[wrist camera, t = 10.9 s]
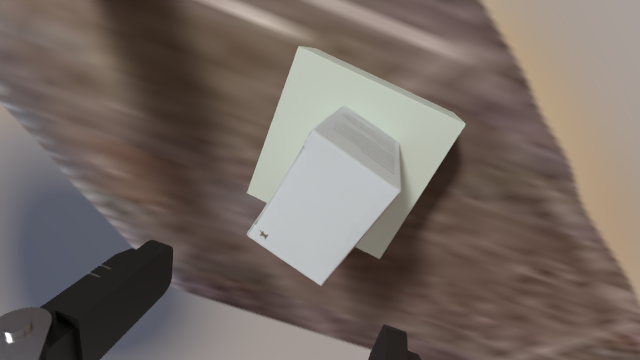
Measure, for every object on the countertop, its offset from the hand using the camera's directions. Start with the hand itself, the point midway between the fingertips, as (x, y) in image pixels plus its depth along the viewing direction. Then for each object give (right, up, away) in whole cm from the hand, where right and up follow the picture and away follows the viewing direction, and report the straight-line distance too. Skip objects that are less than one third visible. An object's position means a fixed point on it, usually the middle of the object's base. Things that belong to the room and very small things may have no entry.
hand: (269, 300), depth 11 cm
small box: (+4, +6, +15) cm, 17 cm away
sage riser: (+5, +8, +21) cm, 23 cm away
